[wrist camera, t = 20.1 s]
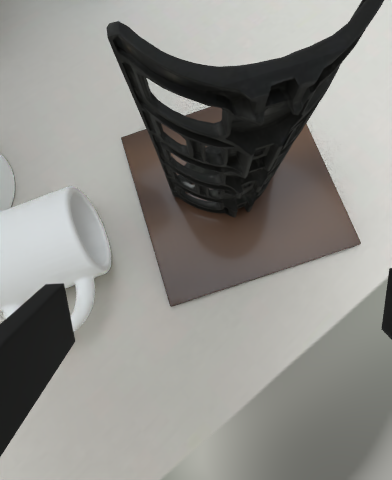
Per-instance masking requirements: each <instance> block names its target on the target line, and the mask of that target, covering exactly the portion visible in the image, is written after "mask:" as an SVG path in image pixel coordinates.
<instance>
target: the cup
mask: <svg viewBox="0 0 392 480" xmlns="http://www.w3.org/2000/svg"><path fill="white" fill-rule="evenodd" d="M14 192H15V181H14V174H13V172H12V169H11V166H10V164H9V163H8V162H7V160H6V159H5V157H3V156H2V155H1V154H0V212H1V211H4V210H7V209H9V208H11V205H12V202H13V198H14Z"/></svg>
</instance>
